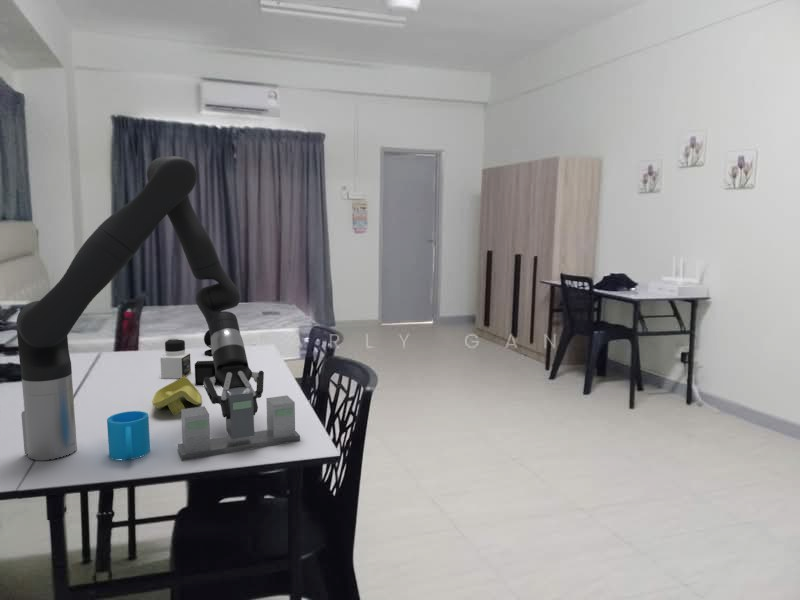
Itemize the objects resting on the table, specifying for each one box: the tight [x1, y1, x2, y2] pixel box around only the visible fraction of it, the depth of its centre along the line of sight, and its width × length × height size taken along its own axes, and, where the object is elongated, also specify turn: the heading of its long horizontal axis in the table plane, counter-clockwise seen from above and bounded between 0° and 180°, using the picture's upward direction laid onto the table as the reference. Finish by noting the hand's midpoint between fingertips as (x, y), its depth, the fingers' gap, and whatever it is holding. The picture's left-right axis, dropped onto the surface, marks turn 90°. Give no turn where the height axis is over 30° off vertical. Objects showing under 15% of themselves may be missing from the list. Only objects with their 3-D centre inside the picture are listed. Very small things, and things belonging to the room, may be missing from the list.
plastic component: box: [151, 376, 203, 415], centre depth 159 cm, size 20×7×10 cm
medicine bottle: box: [159, 338, 192, 379], centre depth 190 cm, size 7×7×12 cm
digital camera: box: [194, 360, 220, 386], centre depth 181 cm, size 10×5×7 cm, turn 97°
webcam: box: [203, 330, 213, 357], centre depth 222 cm, size 8×8×10 cm
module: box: [225, 386, 255, 439], centre depth 131 cm, size 5×6×10 cm
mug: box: [106, 410, 151, 461], centre depth 125 cm, size 12×8×8 cm
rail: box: [177, 395, 301, 461], centre depth 132 cm, size 26×7×9 cm, turn 117°
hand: (241, 415), depth 130 cm, fingers closed on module, 5 cm apart
